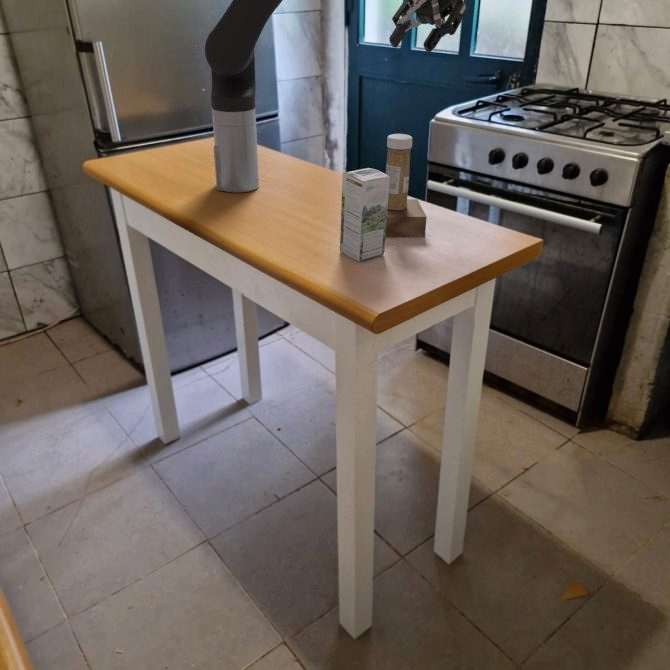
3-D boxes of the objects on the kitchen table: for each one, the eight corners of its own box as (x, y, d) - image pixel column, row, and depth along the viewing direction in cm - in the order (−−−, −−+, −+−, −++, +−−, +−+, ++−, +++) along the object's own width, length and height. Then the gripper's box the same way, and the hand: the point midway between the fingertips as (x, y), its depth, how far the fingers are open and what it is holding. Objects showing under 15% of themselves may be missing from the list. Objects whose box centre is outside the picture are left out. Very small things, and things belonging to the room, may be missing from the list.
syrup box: (364, 245, 115) (367, 166, 107) (385, 256, 111) (390, 174, 103) (339, 252, 112) (341, 171, 104) (360, 263, 108) (363, 180, 100)
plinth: (372, 237, 118) (373, 217, 116) (366, 218, 126) (367, 199, 124) (424, 237, 118) (426, 216, 116) (415, 218, 127) (417, 199, 125)
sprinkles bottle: (411, 209, 120) (417, 137, 113) (391, 212, 118) (395, 139, 111) (399, 202, 123) (404, 132, 116) (378, 205, 122) (382, 134, 115)
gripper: (416, -40, 122) (373, 29, 121) (476, -39, 114) (430, 35, 113) (431, -9, 128) (389, 56, 127) (489, -6, 120) (445, 64, 119)
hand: (409, 46), depth 120 cm, fingers open, 8 cm apart
